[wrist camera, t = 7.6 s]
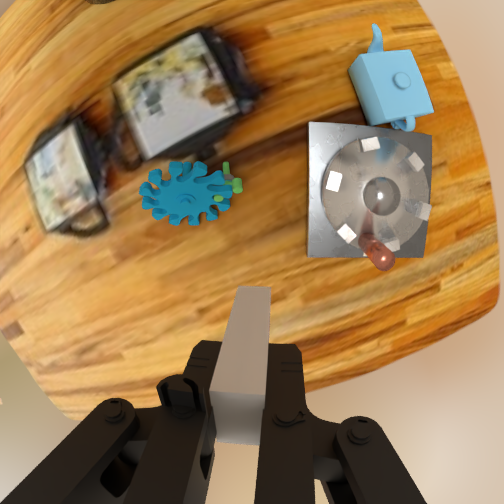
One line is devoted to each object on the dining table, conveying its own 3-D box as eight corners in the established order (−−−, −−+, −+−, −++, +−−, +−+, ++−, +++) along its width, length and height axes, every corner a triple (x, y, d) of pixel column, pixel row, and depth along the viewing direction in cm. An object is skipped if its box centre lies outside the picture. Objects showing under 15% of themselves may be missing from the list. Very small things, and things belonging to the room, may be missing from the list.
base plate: (306, 124, 29) (309, 121, 27) (424, 136, 28) (432, 135, 26) (305, 251, 34) (307, 257, 32) (416, 252, 33) (423, 257, 31)
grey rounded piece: (308, 232, 31) (318, 254, 24) (336, 123, 27) (355, 112, 20) (404, 258, 31) (432, 283, 24) (432, 159, 27) (469, 162, 20)
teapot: (335, 48, 26) (349, 22, 19) (379, 43, 25) (400, 19, 18) (369, 140, 29) (394, 134, 22) (412, 131, 28) (443, 125, 21)
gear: (154, 234, 33) (124, 180, 24) (158, 196, 36) (134, 140, 27) (245, 224, 34) (240, 163, 25) (241, 185, 36) (236, 124, 27)
